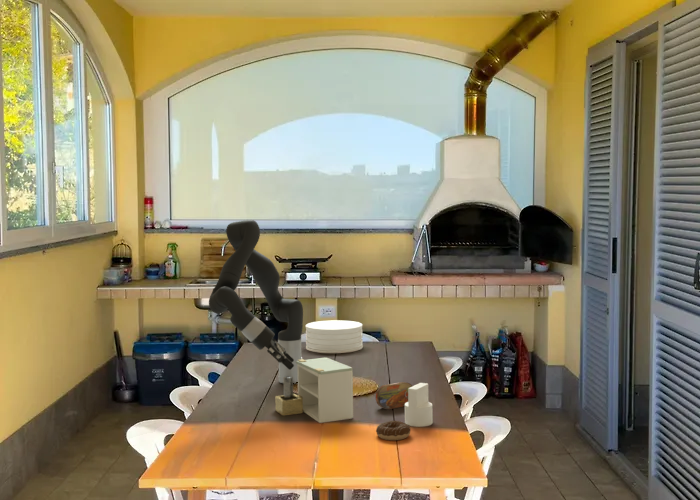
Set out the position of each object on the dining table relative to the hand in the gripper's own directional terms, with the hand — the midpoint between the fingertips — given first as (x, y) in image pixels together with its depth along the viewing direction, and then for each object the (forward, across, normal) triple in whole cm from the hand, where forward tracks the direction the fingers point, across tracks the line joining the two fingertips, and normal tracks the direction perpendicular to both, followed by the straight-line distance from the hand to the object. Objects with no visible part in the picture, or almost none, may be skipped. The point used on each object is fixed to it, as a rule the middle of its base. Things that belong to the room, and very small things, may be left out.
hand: (292, 364), depth 259 cm
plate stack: (+27, +112, -2) cm, 115 cm away
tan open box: (+10, 0, +12) cm, 16 cm away
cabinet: (+19, -3, +4) cm, 20 cm away
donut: (+33, -31, -10) cm, 47 cm away
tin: (+37, +2, -13) cm, 39 cm away
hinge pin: (+10, 0, +13) cm, 16 cm away
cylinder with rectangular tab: (+40, -18, -17) cm, 47 cm away
